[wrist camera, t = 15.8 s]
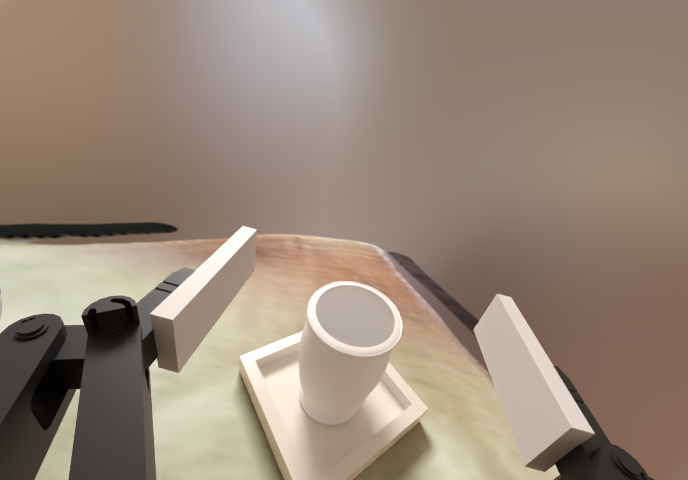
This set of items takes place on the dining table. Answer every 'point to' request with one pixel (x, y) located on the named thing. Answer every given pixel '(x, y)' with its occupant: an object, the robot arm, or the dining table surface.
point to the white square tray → (313, 437)
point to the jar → (344, 348)
